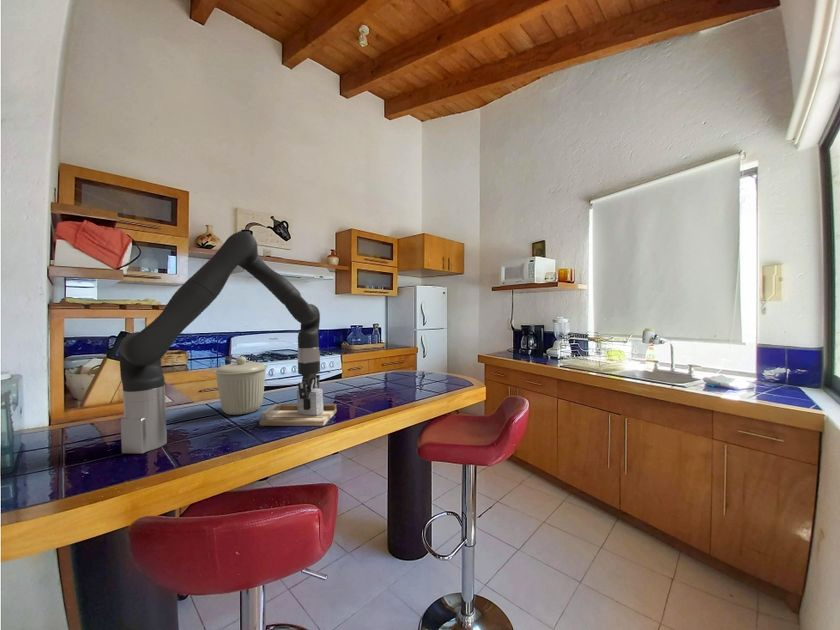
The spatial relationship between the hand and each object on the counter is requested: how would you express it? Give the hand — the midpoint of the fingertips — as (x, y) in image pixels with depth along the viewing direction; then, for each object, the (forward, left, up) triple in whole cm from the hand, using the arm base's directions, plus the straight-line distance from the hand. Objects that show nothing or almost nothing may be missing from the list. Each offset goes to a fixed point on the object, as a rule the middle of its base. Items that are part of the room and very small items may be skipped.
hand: (310, 406), depth 117 cm
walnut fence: (+5, +4, -2) cm, 7 cm away
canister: (+7, +30, -4) cm, 31 cm away
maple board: (-1, +4, -4) cm, 5 cm away
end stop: (-2, +14, -2) cm, 14 cm away
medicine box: (0, 0, -3) cm, 3 cm away
